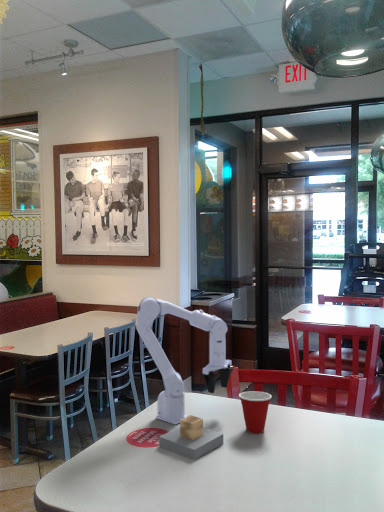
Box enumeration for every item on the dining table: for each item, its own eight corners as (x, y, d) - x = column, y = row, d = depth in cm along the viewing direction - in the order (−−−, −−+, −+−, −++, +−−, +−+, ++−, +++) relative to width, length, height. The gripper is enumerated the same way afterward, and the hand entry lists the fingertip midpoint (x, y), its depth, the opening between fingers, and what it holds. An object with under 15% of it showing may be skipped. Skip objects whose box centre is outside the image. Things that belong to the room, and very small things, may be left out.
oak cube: (180, 435, 145) (180, 419, 145) (190, 430, 149) (190, 415, 149) (192, 440, 142) (192, 424, 142) (203, 434, 146) (203, 419, 146)
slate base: (159, 446, 145) (159, 436, 145) (189, 431, 156) (188, 422, 156) (194, 460, 136) (194, 449, 136) (223, 443, 147) (223, 433, 147)
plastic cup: (270, 423, 162) (270, 389, 161) (272, 437, 151) (272, 400, 150) (238, 422, 163) (238, 388, 162) (238, 436, 152) (238, 399, 151)
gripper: (214, 357, 160) (214, 397, 161) (238, 349, 171) (238, 386, 172) (197, 354, 165) (198, 393, 165) (222, 346, 176) (222, 383, 176)
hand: (217, 389), depth 169 cm, fingers open, 7 cm apart
